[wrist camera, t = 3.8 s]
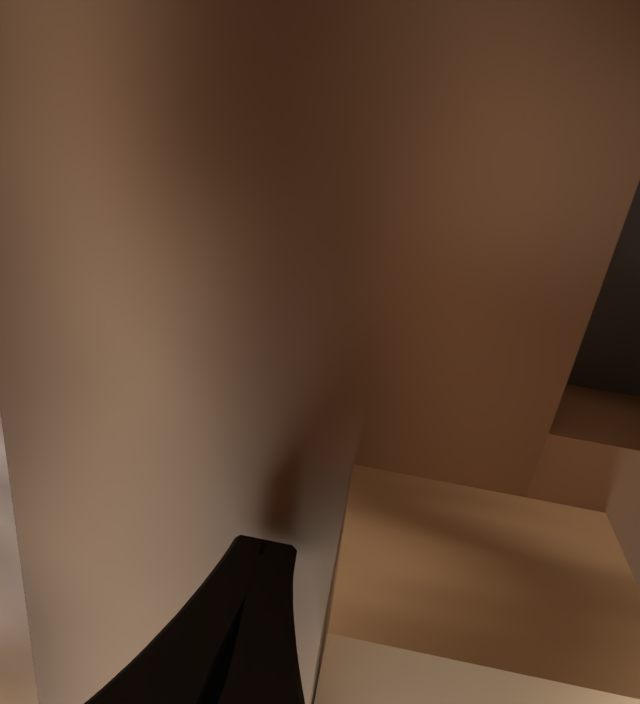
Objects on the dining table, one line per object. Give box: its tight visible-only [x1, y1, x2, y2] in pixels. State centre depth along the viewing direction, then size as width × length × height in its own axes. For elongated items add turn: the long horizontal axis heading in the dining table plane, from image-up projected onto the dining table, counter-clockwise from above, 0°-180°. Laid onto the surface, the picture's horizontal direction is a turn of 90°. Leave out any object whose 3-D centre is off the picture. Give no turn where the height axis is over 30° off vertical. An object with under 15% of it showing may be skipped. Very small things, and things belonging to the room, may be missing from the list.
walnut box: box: [0, 0, 640, 704], centre depth 13 cm, size 25×24×4 cm
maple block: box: [310, 464, 640, 704], centre depth 11 cm, size 5×5×4 cm
